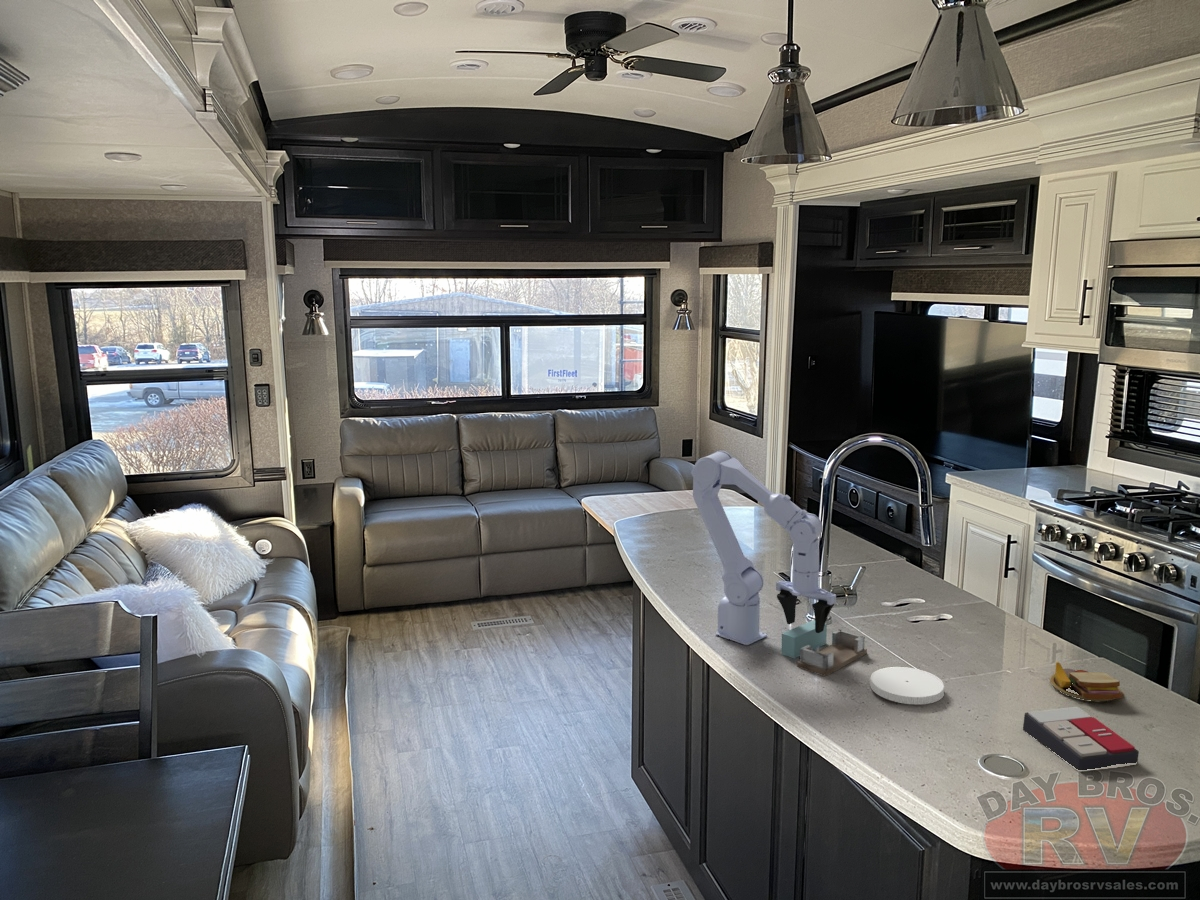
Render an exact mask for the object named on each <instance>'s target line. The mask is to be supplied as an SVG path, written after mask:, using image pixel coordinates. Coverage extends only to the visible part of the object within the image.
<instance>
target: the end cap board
mask: <svg viewBox="0 0 1200 900" xmlns="http://www.w3.org/2000/svg"><path fill="white" fill-rule="evenodd" d="M817 652H818V653H821V654H824V655H826V654H828V653H830V652H831V653H834V655H833V667H831V668H830V669H828V670H823V669H820V668H817V667H814V666H811V665H808V664H805V663H802V662H800V660H799V661H797V664H796V666H797V667H798V668H801V669H803V670H806V671H809V672H812V673H815V674H818V675H821V676H824V677H826V676H829V675H830V674H833V673H834V672H836V671H838V670H840V669H841V668H843V667H845V666H847V665H849V664H850V663H853V662H854V661H856V660H858V659H859V658H861V657H863V656H865V655H866V654H867V653H868V648H865V647H864V650H863V651H861V652H859V653H855V652H854V648H852V647H849V646H846V645H842V644H839V645H837V646H833V645H832V644H830V645H828V646H826V647H824V648H822V649H820V650H818V651H817Z"/></svg>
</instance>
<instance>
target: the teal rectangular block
mask: <svg viewBox="0 0 1200 900" xmlns="http://www.w3.org/2000/svg"><path fill="white" fill-rule="evenodd" d="M827 624H828V623H826V622H825V626H824V630H823V631H822V632H820V633H816V631H815V619H813V620H811V621H808V622H805V623H803V624H801V625H798V626H796V627H793V628H792V629H789V630H787V631H785V632H782V633H781V655H783V656H785V657H789V658H792V659H796V658H797V657H800V649H801V648H803V647H805V646H807V645H810V646H811V651H814V650H815V649H817V648H820V647H822V646H824V645H826V644H827V636H828V635H827V629H828V627H827V626H828V625H827Z"/></svg>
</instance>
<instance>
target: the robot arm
mask: <svg viewBox="0 0 1200 900" xmlns="http://www.w3.org/2000/svg"><path fill="white" fill-rule="evenodd" d="M690 474H691V476H692V479H693V480H692V481H693V482H692V497H693V500H694V503H695V505H696V507H697V509H698V511H699V512H698V513H699V514H700V517H701V518H702V521H703V523H704V525H705V528H706V529H707V532H708V534H709V536H710V539H711V542H712V543H713V546H714V548H715V550H716V552H717V555H718V558H719V559H720V562H721V564H722V573H721V579H722V581H723V584H724V586H723V587H724V588H723V589H724V590H723V591H724V595H725V596H723V597H722V598H721V599H720V600H719V602H718V603H719V604H718V606H717V631H716V632H715V636H718V635H719V637H721V638H724V639H727V640H729V639H730V641H733V642H736V643H738V644H741V645H744V646H749V645H751V644H753V643H755V642H757V641H759V640H761V639H764V638H766V637H768V634H767V633H766V632H762V631H760V621H761V619H760V616H761V615H760V608H761V605H760V603H761V602H760V601H761V600H760V594H759V593H760V591H761V590H762V589H763V587H764V583H765V582H764V578H763V577H764V576H763V575H762V574H761V572H760V571H759V570H758V569H757V568H756V567H755V565H754V563H753V562H752V560H750V559H749V558H747V557H745V555H744V552H743V550H742V548H741V545H740V543H739V541H738V539H737V536H736V534H735V532H734V530H733V528H732V525H731V523H730V520H729V518H728V515H727V514H726V512H725V509H724V507H723V505H722V503H721V500H720V498H719V496H718V495H719V493H720V490H721V488H722V486H723V485H734V486H737V488H739V489H740V490H742V491H743V492H745V493H746V494H748V495H749V496H751V497H752V498H753V499H755V500H756V501H757V502H758V503H760V504H761V505H763V510H764V513H765V515H767V516H768V517H769V518H770V519H772V520H773V521H774V522H776V523H777V524H778V525H779V526H781V528H783V529H784V530H785V531H786V532H788V536H789V538H790V539H791V540H790V541H792V581H786V580H779V581H777V582H775V583H776V584H775V590H776V591H778V592H779V593H778V594H777V595H776V598H777V600H778V601H779V604H780V605H781V607H782V610H783V613H784V616H785V620H786V624H787V625H791V624H794V623H795V622H796V606H797V601H798V597H804V598H808V599H812V600H815V601H816V602H814V603H812V604H811V605H812V608H813V613H814V620H815V631H816V633H820V632H822V631H823V630H824V626H825V623H826V622H827V619H828V616H829V614H830V612H831V610H832V609H833V608H834V605H835V604H836V603H837V594H835V593H832V592H829V591H827V590H826V589H823V588H821V587H819V586H820V584H819V583H820V582H819V581H820V578H819V577H820V575H819V574H820V539H819V537H820V536H821V535H822V533H823V529H824V528H823V526H824V525H823V522H822V521H821V519H820V518H819V517H818V516H817V515H816V514H814V513H808V511H807V510H806V509H802V508H800V507H799V506H798V505H797V504H795V503H794V502H793V501H791V498H792V497H790V496H789V495H788V494H785V495H784V494H783V493H773V492H772V491H771V490H770V489H769V488H767V486H765V484H763V483H762V482H761V481H760V480H759V479H757V478H756V476H754V475H753V474H752V472H750V471H749V470H748V469H746V468H745V467H744V466H743V465H742V463H741V462H740V460H738V459H737V458H735V457H733V456H732V455H731V454H730V453H729V452H727V451H725V450H718V451H715V452H713V453H711V454H709V455H707V456H703V457H701V458H698V459H697V461H695V464H694V466H693V468H692V469H691V472H690Z"/></svg>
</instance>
